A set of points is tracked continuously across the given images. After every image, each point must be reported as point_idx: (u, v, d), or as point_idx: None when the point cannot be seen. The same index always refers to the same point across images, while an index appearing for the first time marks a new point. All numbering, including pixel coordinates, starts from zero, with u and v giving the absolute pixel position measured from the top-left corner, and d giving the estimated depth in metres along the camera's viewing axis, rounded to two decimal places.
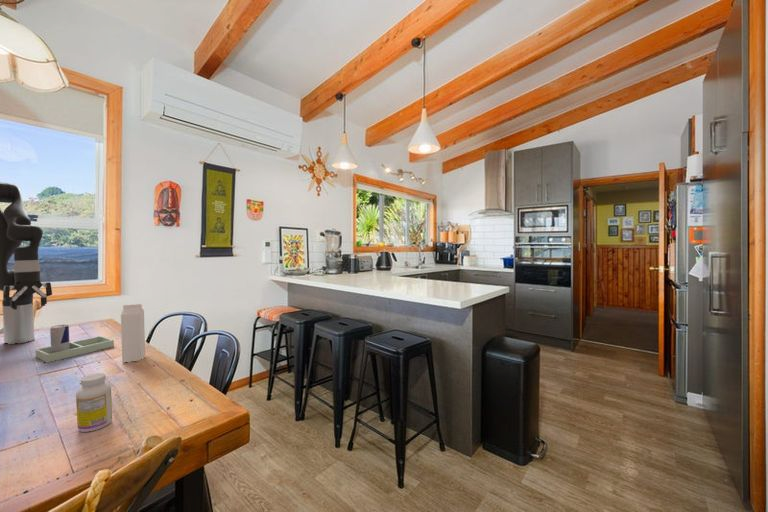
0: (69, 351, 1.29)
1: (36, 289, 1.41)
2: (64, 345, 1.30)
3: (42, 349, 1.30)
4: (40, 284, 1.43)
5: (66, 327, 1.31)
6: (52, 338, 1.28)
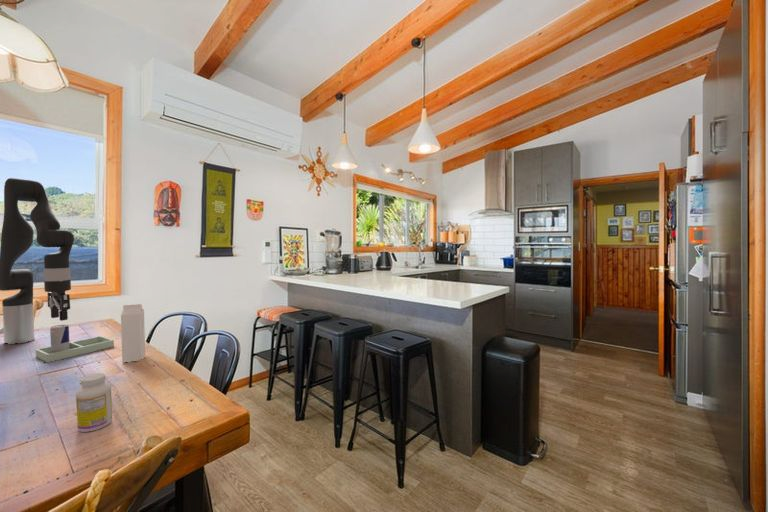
0: (69, 351, 1.29)
1: None
2: (64, 345, 1.30)
3: (42, 349, 1.30)
4: None
5: (66, 327, 1.31)
6: (52, 338, 1.28)
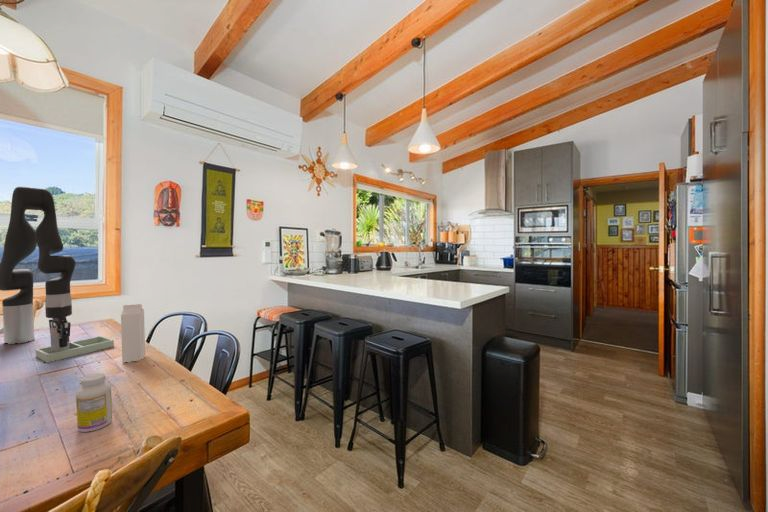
0: (69, 351, 1.29)
1: None
2: None
3: (42, 349, 1.30)
4: None
5: None
6: (52, 338, 1.28)
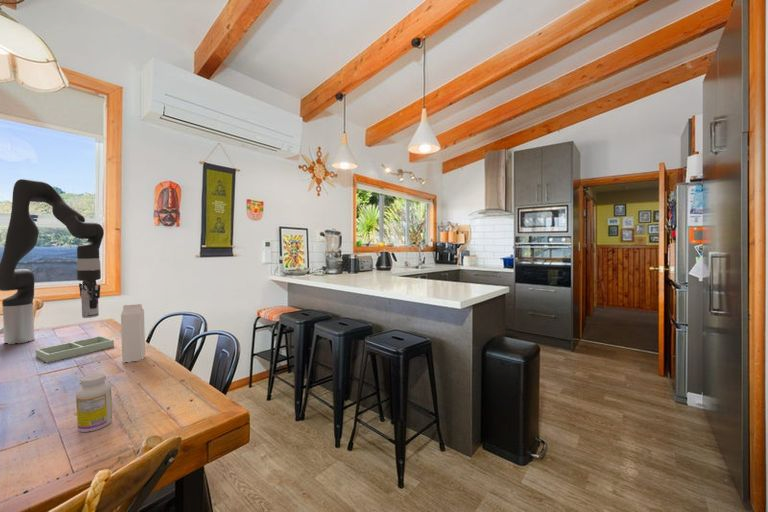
0: (69, 351, 1.29)
1: None
2: None
3: (42, 349, 1.30)
4: None
5: None
6: (83, 300, 1.36)
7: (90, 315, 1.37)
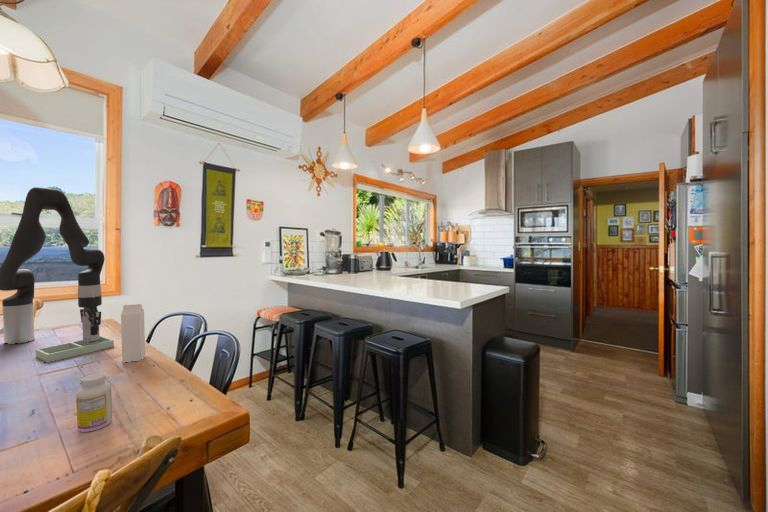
0: (69, 351, 1.29)
1: None
2: None
3: (42, 349, 1.30)
4: None
5: None
6: (84, 326, 1.37)
7: (91, 341, 1.38)
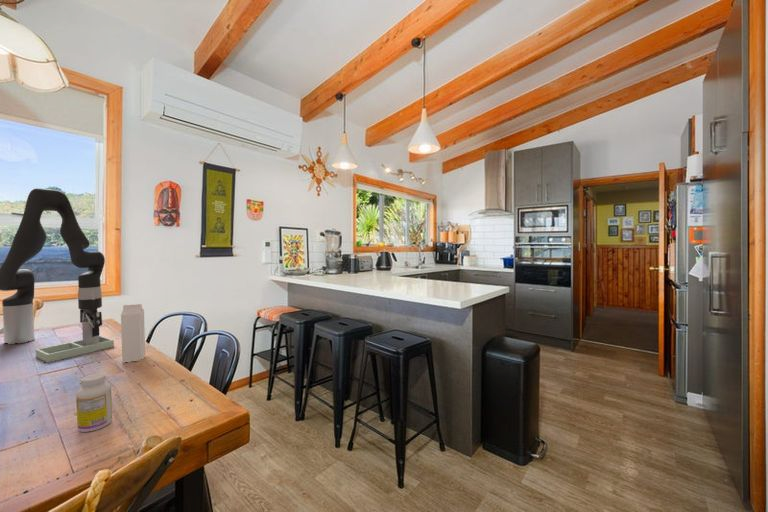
0: (69, 351, 1.29)
1: None
2: (95, 339, 1.39)
3: (42, 349, 1.30)
4: None
5: None
6: (84, 332, 1.37)
7: None
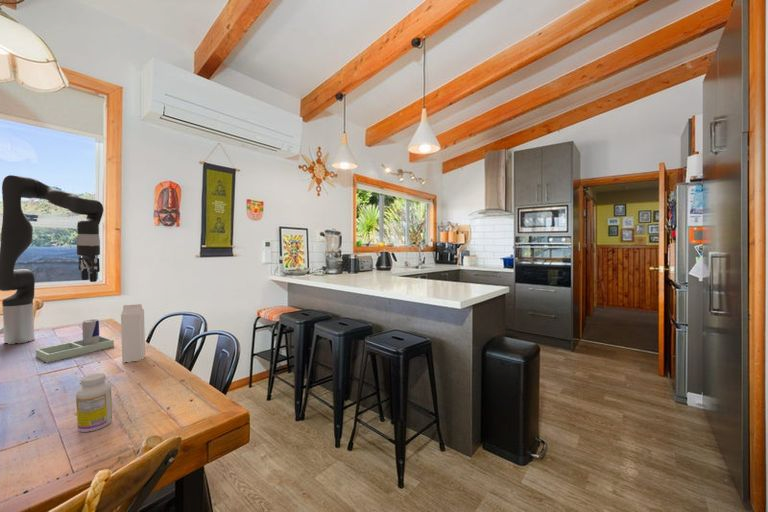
0: (69, 351, 1.29)
1: None
2: (95, 339, 1.39)
3: (42, 349, 1.30)
4: None
5: (97, 322, 1.40)
6: (84, 332, 1.37)
7: None
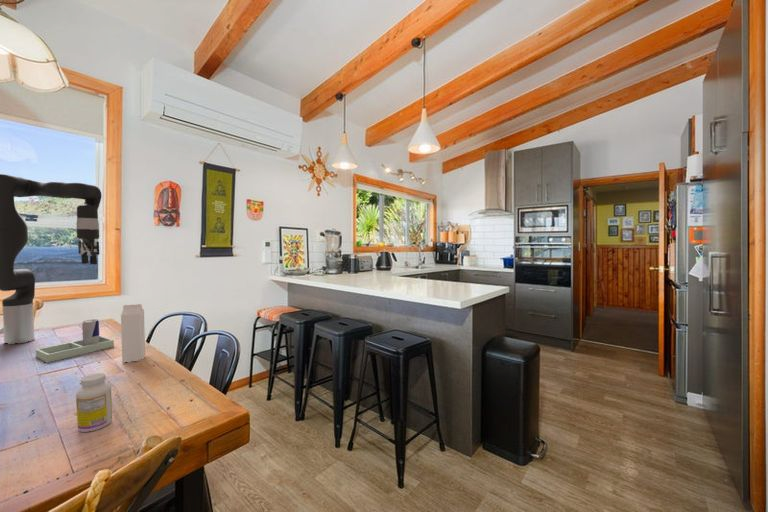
0: (69, 351, 1.29)
1: None
2: (95, 339, 1.39)
3: (42, 349, 1.30)
4: None
5: (97, 322, 1.39)
6: (84, 332, 1.37)
7: None
